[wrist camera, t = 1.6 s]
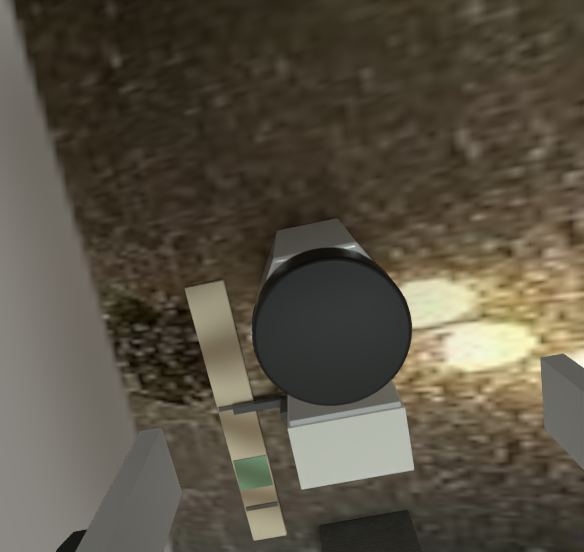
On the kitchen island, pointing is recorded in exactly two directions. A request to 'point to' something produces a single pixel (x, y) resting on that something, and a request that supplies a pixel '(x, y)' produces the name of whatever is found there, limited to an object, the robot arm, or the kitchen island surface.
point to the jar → (328, 317)
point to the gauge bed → (230, 391)
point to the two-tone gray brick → (371, 535)
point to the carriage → (344, 437)
